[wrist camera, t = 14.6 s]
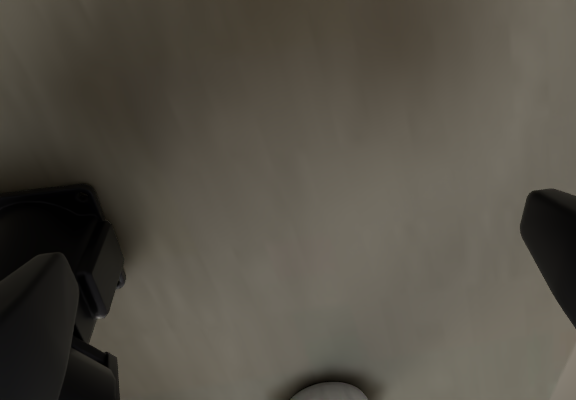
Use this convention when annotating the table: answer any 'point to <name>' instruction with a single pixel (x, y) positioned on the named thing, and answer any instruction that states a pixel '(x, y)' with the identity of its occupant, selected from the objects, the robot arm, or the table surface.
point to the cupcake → (330, 392)
